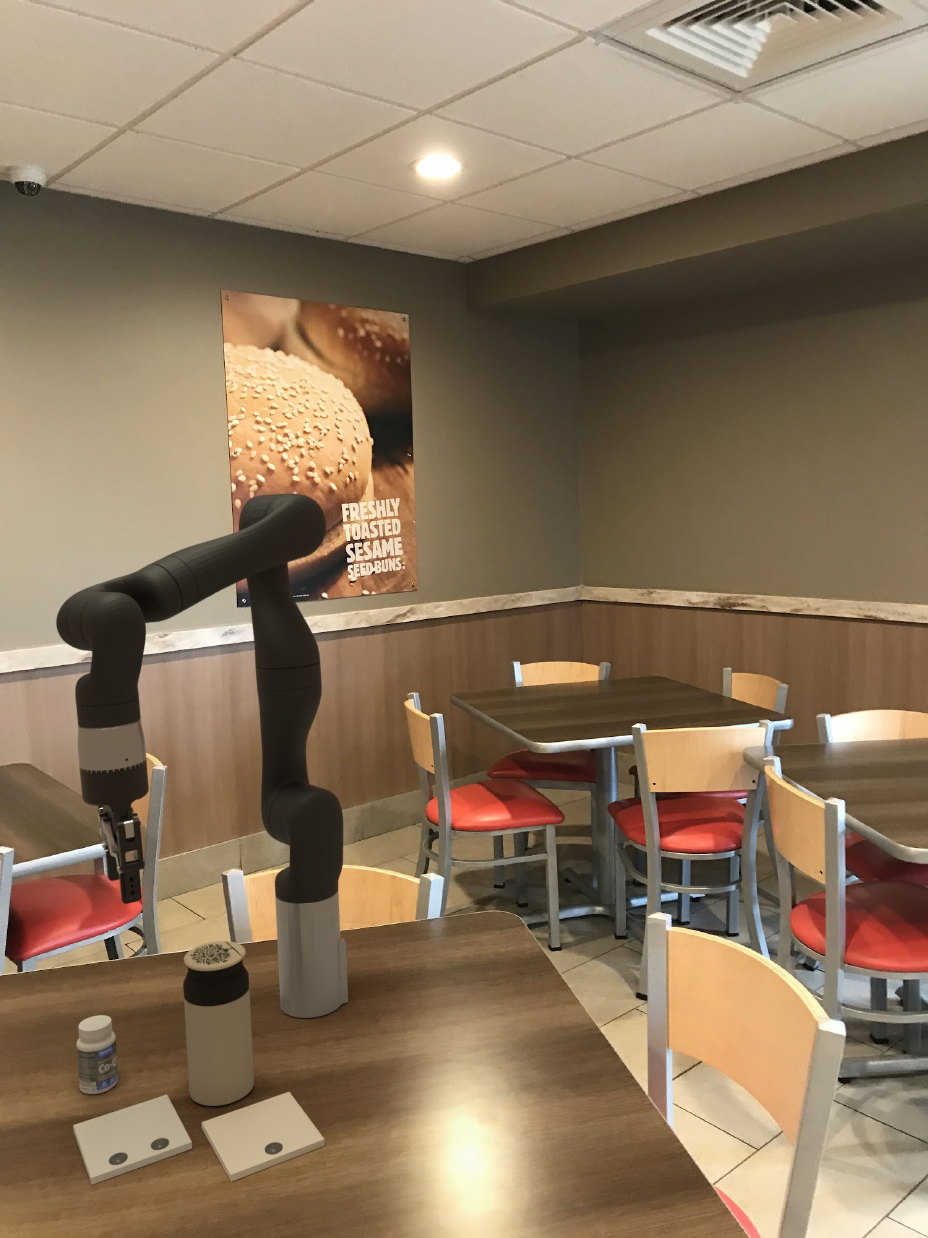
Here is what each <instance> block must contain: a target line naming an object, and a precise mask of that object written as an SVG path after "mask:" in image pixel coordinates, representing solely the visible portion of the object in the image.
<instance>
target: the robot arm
mask: <svg viewBox="0 0 928 1238" xmlns="http://www.w3.org/2000/svg"><path fill="white" fill-rule="evenodd" d="M326 530H327V520H326V515H325V513H324V511H323V509H322V506H321V505H320V504H319V503H318V502H317V500H315V499H313V498H312V497H311V496H308V495H306V494H302V493H289V492H287V493H273V494H260V495H256V496H255V495H254V496H253V497H251V498H249V499H248V500H247V501H246V502H245V503H244V504H243V507H242V508H241V511H240V515H239V520H238V530H237V531H236V532H233V533H230V534H227V535H224V536H220V537H216V538H214V539H210V540H207V541H204V542H203V541H202V542H201V543H196V544H194V545H190V546H187V547H184V548H182V549H179V550H177V551H174V552H172V553H170V554H168V555H166V556H164V557H161V558H160V559H157V560H156V561H153V562H152V563H149V564H147V565H145V566H142V567H141V568H140V569H138V570H136V571H133V572H132V573H129V574H128V573H127V574H125V575H121V576H118V577H115V578H112V579H109V580H106V581H103V582H100V583H97V584H94V585H91V586H89V587H86V588H83V589H81V590H79V591H77V592H75V593H74V594H72V595H71V596H70V597H68V598H67V599H66V600H65V601H64V602H63V604H62V605H61V606H60V608H59V610H58V612H57V615H56V618H55V621H56V622H55V625H56V630H57V633H58V634H59V637H60V638H61V640H62V641H64V643H65V644H66V645H68V646H70V647H71V648H74V649H77V650H79V651H83V652H84V651H87V652H91V663H90V671H89V673H86V674H83V675H82V676H80V677H79V679H77V681H76V684H75V694H74V695H75V707H76V717H77V718H76V719H77V757H78V766H79V776H80V787H81V798H82V801H83V802H84V803H85V804H86V805H90V806H94V807H97V819H98V820H97V821H98V828H99V829H98V831H99V835H98V837H99V839H100V842H102V844H101V846H102V848H103V851H105V863H106V874H107V879H108V880H109V881H111V882H115V881H118V880H119V890H120V892H119V893H120V900H121V902H122V903H123V904H124V905H128V904H132V903H136V902H139V901H141V900H142V897H143V894H142V883H141V873H140V872H141V870H144V869H145V866H146V864H145V861H144V849H143V842H142V841H143V839H142V830H141V825H142V822H141V820H140V818H139V814H138V813H137V812H134V808H133V807H132V804H133V803H134V802H135V801H138V800H141V799H142V798H144V797H145V796H147V795H148V793H149V790H150V788H149V775H148V774H149V773H148V761H147V759H148V758H147V750H146V749H147V748H146V740H145V739H146V738H145V733H144V730H143V725H142V724H143V723H142V715H141V706H140V693H139V679H140V675H141V671H142V666H143V659H144V653H145V647H146V640H147V626H146V624H149V623H157V622H158V623H159V622H164V621H166V620H168V619H172V618H173V617H175V616H177V615H179V614H181V613H182V612H184V611H186V610H188V609H190V608H191V607H193V606H195V605H197V604H199V603H201V602H202V601H204V600H207V598H209V597H211V596H213V595H214V594H216V593H219V592H220V591H222V590H223V591H224V589H226V588H228V587H231V586H233V585H235V584H237V583H238V582H241V581H244V580H246V585H247V590H248V596H249V604H250V605H249V606H250V615H251V625H252V633H253V634H252V635H253V644H254V664H255V667H254V668H255V678H256V679H255V680H256V691H257V697H258V698H257V699H258V700H257V701H258V707H259V723H260V724H259V725H260V726H259V728H260V739H261V740H260V741H261V788H260V791H261V792H260V812H261V813H260V814H261V820H262V825H263V827H264V829H265V831H266V833H267V834H268V835H269V836H270V837H271V838H273V839H274V840H275V841H277V842H279V843H282V844H285V845H287V846H289V865H288V866H287V867H285V868H282V869H281V870H280V871H278V873H277V874H276V876H275V878H274V894H275V895H274V896H275V899H274V900H275V917H276V918H275V919H276V920H275V921H276V938H277V940H276V941H277V942H276V943H277V959H278V982H279V998H280V999H279V1000H280V1009H281V1011H282V1012H283V1013H284V1014H286V1015H289V1016H290V1017H295V1018H301V1019H303V1018H304V1019H305V1018H306V1019H309V1018H310V1019H311V1018H318V1017H322V1016H325V1015H328V1014H331V1013H333V1012H334V1011H337V1009H339V1007H341V1006H342V1005H344V1004H346V1003H349V991H348V990H349V989H348V988H349V987H348V985H349V984H348V965H347V964H348V962H347V943H346V940H345V939H344V938H343V937H341V920H340V919H341V917H340V916H341V915H340V897H339V895H340V892H339V879H340V876H341V873H342V871H343V866H344V815H343V808H342V805H341V802H340V800H339V798H338V797H337V796H336V795H335V793H334V792H332V791H331V790H329V789H326V788H323V787H319V786H317V785H313V784H311V783H310V779H309V775H308V774H309V773H308V764H307V742H308V741H307V740H308V736H309V733H310V731H311V728H312V726H313V723H314V721H315V718H316V715H317V713H318V710H319V707H320V704H321V699H322V694H323V692H322V691H323V684H322V683H323V681H322V671H321V670H322V668H321V656H320V650H319V645H318V643H317V640H316V638H315V635H314V633H313V632H312V630H311V628H310V626H309V624H308V622H307V620H306V618H305V617H304V615H303V613H302V611H301V610H300V608H299V606H298V604H297V602H296V600H295V598H294V594H293V590H292V588H291V582H290V573H289V564H288V563H289V562H293V561H297V560H299V559H303V558H307V557H309V556H310V555H313V554H314V553H316V551H317V550H318V549H319V548H320V546H321V545H322V543H323V541H324V539H325V536H326V532H327V531H326ZM126 854H132V856H133V860H129V861H127V858H126Z"/></svg>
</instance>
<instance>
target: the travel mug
mask: <svg viewBox="0 0 928 1238" xmlns="http://www.w3.org/2000/svg"><path fill="white" fill-rule="evenodd" d="M245 956H246V948H245V947H244V946H243V945H242V944H240V943H238V942H234V941H227V940H226V941H224V940H222V941H221V940H220V941H219V940H218V941H212V942H211V941H210V942H207V943H203V944H199V945H197V946H195V947H193V948H192V949H190V950H189V951H188V952H186V954H185V955H184V957H183V963H184V965H185V966H186V968H187V973H186V975H185V977H184V979H183V982H182V986H183V1000H184V1001H183V1005H184V1021H185V1024H184V1025H185V1036H186V1037H185V1038H186V1053H187V1055H186V1056H187V1071H188V1073H187V1074H188V1075H187V1076H188V1086H189V1091H188V1092H189V1097H190V1098H191V1100H192V1101H194V1102H195V1103H197V1104H199V1105H204V1106H208V1107H209V1106H210V1107H211V1106H212V1107H213V1106H225V1105H228V1104H231V1103H234V1102H237V1101H239V1100H241V1099H242V1098H244V1097H245V1096H247V1095H248V1094H249V1093H250V1092H251V1091H252V1089H253V1087H254V1086H255V1074H254V1072H255V1071H254V1054H253V1053H254V1052H253V1050H254V1049H253V1037H252V1036H253V1034H252V1033H253V1032H252V1016H251V1015H252V1014H251V1013H252V1012H251V996H250V995H251V994H250V974H249V971H248V970H247V968H246V966H245V965H244V963H243V962H244V958H245Z"/></svg>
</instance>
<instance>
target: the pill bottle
mask: <svg viewBox="0 0 928 1238" xmlns="http://www.w3.org/2000/svg"><path fill="white" fill-rule="evenodd" d="M77 1028H78V1037H79V1038H77V1041H76V1046H75V1047H76V1058H77V1072H78V1073H77V1074H78V1075H77V1076H78V1077H77V1078H78V1087H79V1090H80V1091H81V1092H82V1093H83V1094H88V1095H97V1094H102V1093H105V1092H107V1091H109V1090H111V1089H112V1088H113V1087H115V1086H116V1084H117V1083H118V1082H119V1071H118V1056H117V1055H118V1053H117V1036H116V1034H115V1032H114V1031H113V1022H112V1018H111V1017H110V1016H108V1015H105V1014H101V1015H94V1016H93V1015H92V1016H90V1017H88V1018H84V1019H83V1020H81V1022H79V1024H78V1027H77Z"/></svg>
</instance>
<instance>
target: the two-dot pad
mask: <svg viewBox="0 0 928 1238" xmlns="http://www.w3.org/2000/svg"><path fill="white" fill-rule="evenodd" d="M180 1118H181V1117H179V1115H178V1112H177V1111H176V1109H175V1107H174V1105H173V1103H172V1102H171V1099H170V1097H169V1095H168V1094H164V1095H161V1096H158V1097H155V1098H152V1099H149V1100H146V1101H143V1102H140V1103H137V1104H133V1105H131V1106H130V1105H129V1106H128V1107H125V1108H121V1109H117V1110H115V1111H113V1112H112V1111H111V1112H110V1113H105V1114H103V1115H100V1116H97V1117H93V1118H91V1119H87V1120H85V1121H82V1122H79V1123H76V1124H74V1125H72V1129H73V1134H74V1136H75V1140H76V1143H77V1146H78V1148H79V1151H80V1152H79V1153H80V1154H81V1158H82V1160H83V1164H84V1166H85V1169H86V1173H87V1175H88V1178H89V1183H90V1184H91V1185H92V1186H93V1185H96V1184H98V1183H100V1182H104V1181H106V1180H108V1179H112V1178H115V1177H118V1176H119V1175H123V1174H125V1173H129V1172H131V1171H134V1170H136V1169H139V1168H142V1167H145V1166H148V1165H150V1164H153V1163H156V1162H159V1161H162V1160H164V1159H167V1158H170V1157H172V1156H175V1155H178V1154H181V1153H183V1152H186V1151H190V1150H191V1149H193V1142H192V1140H191V1137H190V1135H189V1134H188V1132H187V1130H186V1128H185V1126H184V1124H183V1122H182V1120H181V1119H180Z"/></svg>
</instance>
